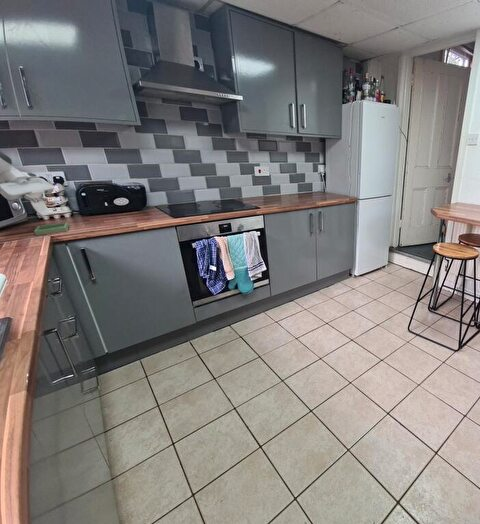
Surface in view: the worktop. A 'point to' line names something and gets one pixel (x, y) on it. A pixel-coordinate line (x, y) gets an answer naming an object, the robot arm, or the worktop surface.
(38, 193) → the light grey curved piece
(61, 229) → the tray
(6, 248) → the worktop surface
